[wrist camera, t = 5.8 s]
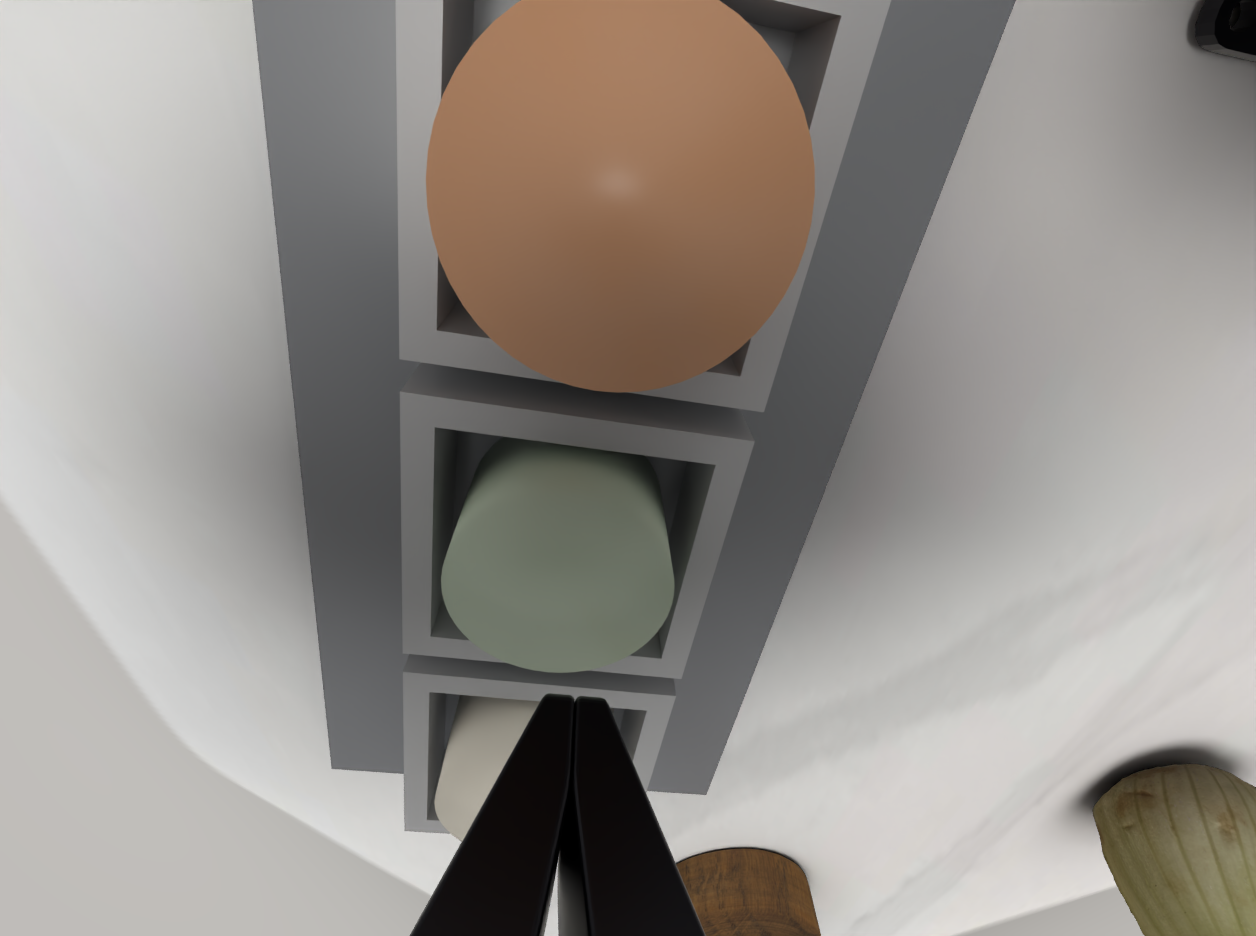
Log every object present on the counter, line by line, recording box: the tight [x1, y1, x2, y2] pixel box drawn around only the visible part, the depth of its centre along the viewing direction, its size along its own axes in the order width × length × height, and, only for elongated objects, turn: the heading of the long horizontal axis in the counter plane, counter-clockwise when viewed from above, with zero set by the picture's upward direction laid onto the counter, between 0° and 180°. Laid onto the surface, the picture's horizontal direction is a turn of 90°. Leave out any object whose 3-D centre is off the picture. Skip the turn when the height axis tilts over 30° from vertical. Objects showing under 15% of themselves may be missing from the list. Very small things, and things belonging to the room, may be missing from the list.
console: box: [252, 0, 1016, 834], centre depth 14 cm, size 12×22×3 cm, turn 170°
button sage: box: [441, 437, 674, 673], centre depth 13 cm, size 4×4×3 cm
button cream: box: [434, 695, 614, 841], centre depth 16 cm, size 4×4×3 cm
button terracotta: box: [426, 0, 815, 393], centre depth 8 cm, size 4×4×3 cm
